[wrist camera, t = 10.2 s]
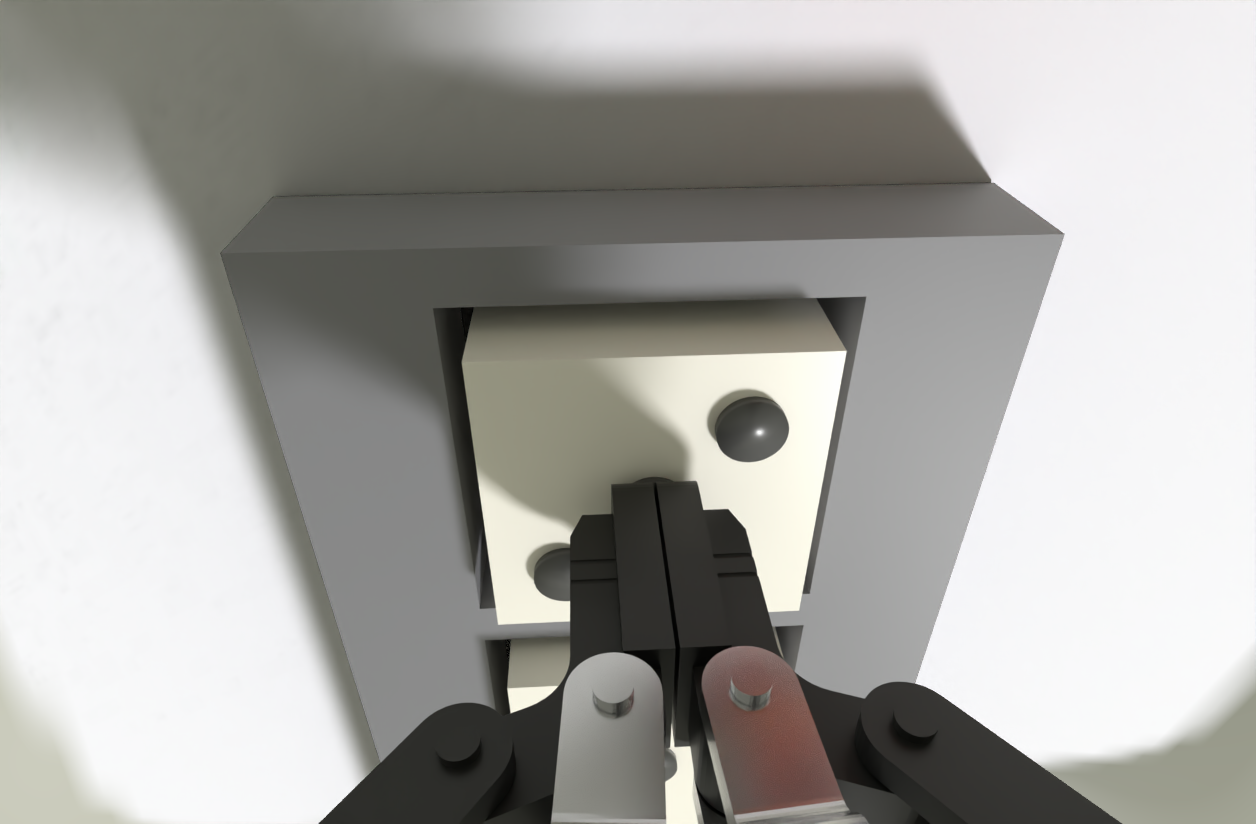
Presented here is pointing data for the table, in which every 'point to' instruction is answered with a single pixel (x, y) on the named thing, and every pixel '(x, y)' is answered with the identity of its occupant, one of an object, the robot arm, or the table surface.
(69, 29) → the table surface
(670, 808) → the tile one
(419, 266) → the grey tile tray
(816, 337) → the tile three
